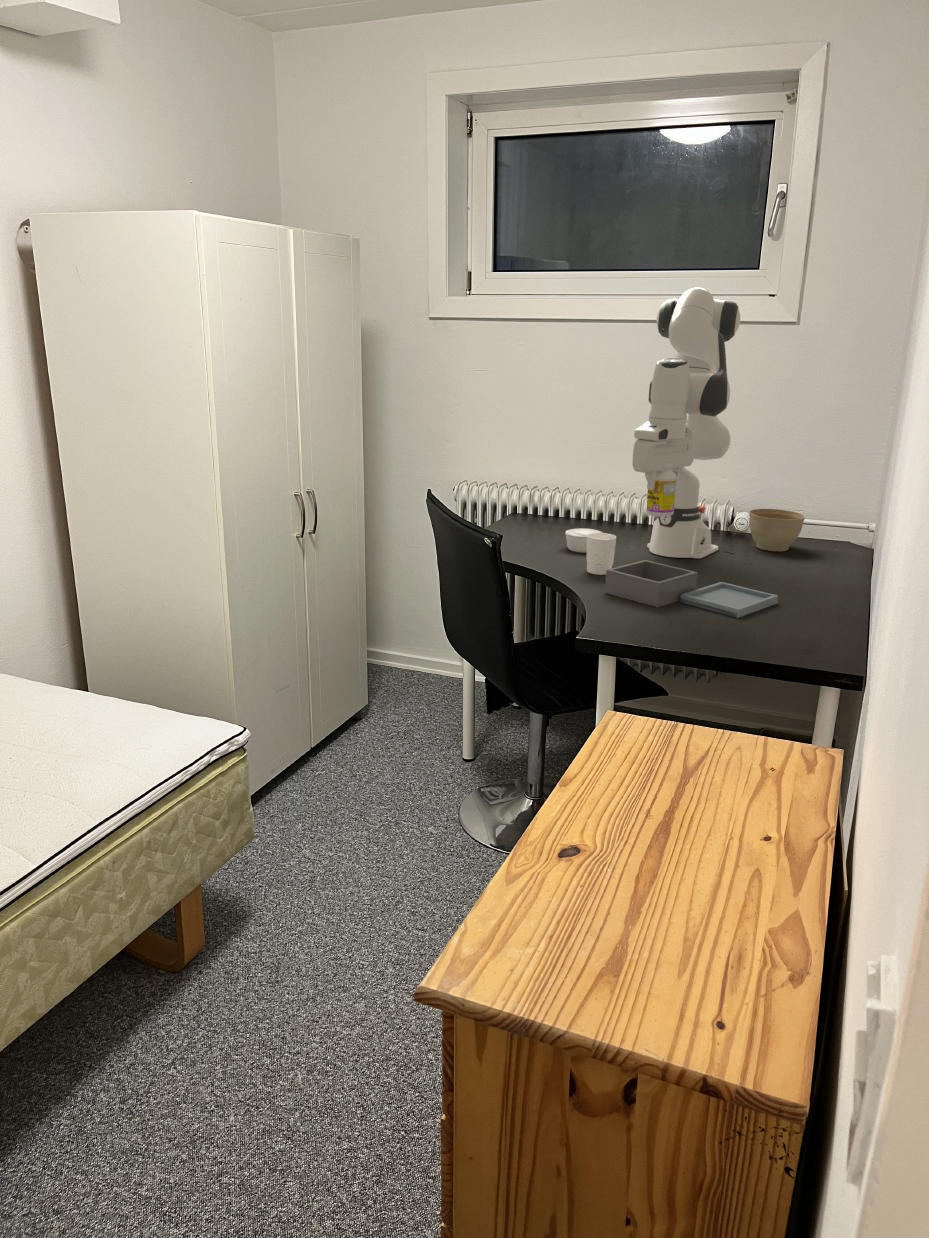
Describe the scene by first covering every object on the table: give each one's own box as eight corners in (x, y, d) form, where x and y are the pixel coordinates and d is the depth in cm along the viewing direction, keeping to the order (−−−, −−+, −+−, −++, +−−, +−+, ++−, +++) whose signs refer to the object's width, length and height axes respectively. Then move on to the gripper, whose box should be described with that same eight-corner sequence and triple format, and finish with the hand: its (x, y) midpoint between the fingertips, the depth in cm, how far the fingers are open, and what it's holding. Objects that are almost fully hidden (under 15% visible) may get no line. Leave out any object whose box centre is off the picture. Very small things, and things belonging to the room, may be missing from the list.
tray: (720, 589, 235) (721, 581, 234) (777, 603, 223) (778, 595, 223) (680, 602, 223) (680, 594, 222) (738, 617, 212) (739, 609, 211)
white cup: (613, 576, 244) (615, 540, 241) (583, 574, 246) (585, 538, 243) (614, 569, 252) (616, 533, 249) (585, 567, 253) (588, 532, 250)
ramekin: (561, 552, 270) (562, 534, 268) (567, 543, 280) (568, 527, 279) (599, 555, 267) (600, 537, 266) (604, 546, 278) (605, 529, 276)
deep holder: (643, 581, 240) (645, 559, 238) (695, 595, 229) (697, 572, 227) (604, 592, 229) (606, 569, 228) (657, 607, 218) (659, 583, 216)
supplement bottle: (640, 513, 224) (644, 460, 221) (664, 511, 227) (667, 459, 223) (655, 517, 218) (659, 464, 215) (679, 516, 221) (683, 462, 217)
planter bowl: (774, 557, 269) (779, 521, 266) (734, 545, 282) (738, 511, 279) (811, 551, 277) (816, 516, 273) (770, 540, 290) (774, 506, 287)
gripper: (680, 425, 225) (675, 481, 230) (629, 431, 212) (625, 490, 216) (702, 428, 221) (697, 485, 225) (652, 434, 208) (647, 494, 212)
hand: (661, 487), depth 221 cm, fingers closed on supplement bottle, 7 cm apart
